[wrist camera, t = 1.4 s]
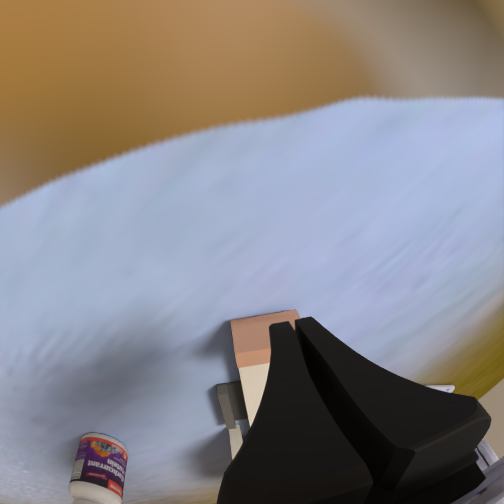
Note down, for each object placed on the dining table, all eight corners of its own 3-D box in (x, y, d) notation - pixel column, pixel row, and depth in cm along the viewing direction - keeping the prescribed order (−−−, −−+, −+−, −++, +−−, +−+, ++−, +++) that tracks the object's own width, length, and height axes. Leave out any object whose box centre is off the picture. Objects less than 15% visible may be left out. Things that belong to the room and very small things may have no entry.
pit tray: (319, 366, 25) (323, 375, 24) (317, 403, 27) (321, 412, 26) (216, 384, 24) (217, 394, 23) (226, 419, 26) (227, 429, 25)
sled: (296, 309, 22) (317, 354, 17) (298, 458, 30) (309, 493, 25) (230, 320, 21) (237, 369, 17) (258, 466, 30) (265, 502, 25)
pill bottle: (137, 447, 27) (129, 526, 18) (115, 462, 28) (106, 531, 19) (92, 424, 25) (74, 505, 16) (74, 441, 26) (57, 512, 17)
